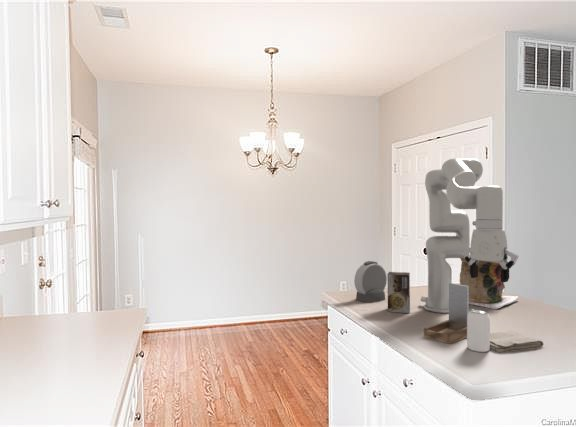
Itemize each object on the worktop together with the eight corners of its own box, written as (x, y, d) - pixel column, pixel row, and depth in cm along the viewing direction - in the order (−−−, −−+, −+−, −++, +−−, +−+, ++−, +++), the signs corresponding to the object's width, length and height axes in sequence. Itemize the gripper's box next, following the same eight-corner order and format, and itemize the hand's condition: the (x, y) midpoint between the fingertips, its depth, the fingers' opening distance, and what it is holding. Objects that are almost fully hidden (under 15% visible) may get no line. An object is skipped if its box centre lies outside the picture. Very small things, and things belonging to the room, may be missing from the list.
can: (492, 353, 126) (492, 314, 125) (469, 351, 127) (469, 313, 127) (486, 346, 132) (486, 308, 132) (464, 344, 133) (465, 307, 133)
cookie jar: (444, 300, 194) (444, 232, 193) (467, 292, 211) (468, 230, 210) (499, 310, 176) (500, 235, 175) (520, 301, 192) (521, 232, 192)
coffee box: (410, 309, 177) (410, 272, 177) (409, 313, 171) (409, 274, 171) (388, 308, 180) (388, 271, 180) (387, 311, 174) (387, 273, 174)
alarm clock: (376, 295, 205) (376, 258, 205) (390, 299, 196) (391, 261, 196) (350, 299, 197) (350, 261, 196) (364, 303, 188) (364, 263, 188)
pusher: (448, 327, 149) (448, 283, 149) (450, 327, 150) (450, 283, 149) (466, 332, 144) (467, 286, 143) (468, 331, 144) (468, 286, 144)
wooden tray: (423, 336, 142) (423, 327, 142) (449, 326, 153) (449, 318, 152) (450, 344, 134) (450, 335, 134) (476, 333, 145) (476, 325, 145)
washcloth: (470, 342, 137) (470, 333, 137) (513, 336, 143) (513, 328, 143) (499, 355, 126) (499, 344, 126) (544, 348, 131) (544, 338, 131)
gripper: (457, 224, 135) (456, 277, 135) (511, 226, 121) (511, 285, 121) (469, 224, 139) (469, 274, 139) (523, 225, 125) (523, 282, 125)
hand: (489, 279), depth 130 cm, fingers open, 9 cm apart
